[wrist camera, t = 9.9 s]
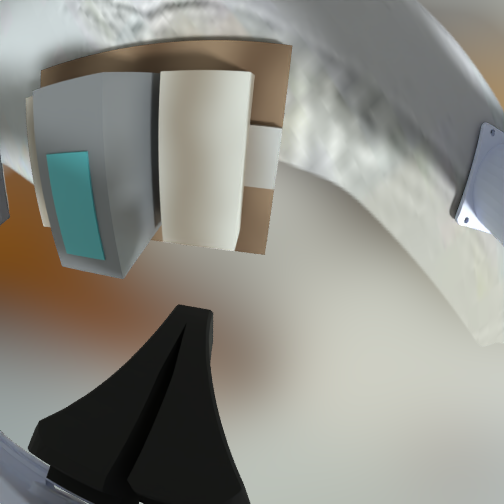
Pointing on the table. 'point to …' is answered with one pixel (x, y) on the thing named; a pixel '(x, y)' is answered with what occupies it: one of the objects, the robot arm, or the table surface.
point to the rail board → (207, 60)
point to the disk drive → (3, 197)
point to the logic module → (100, 167)
